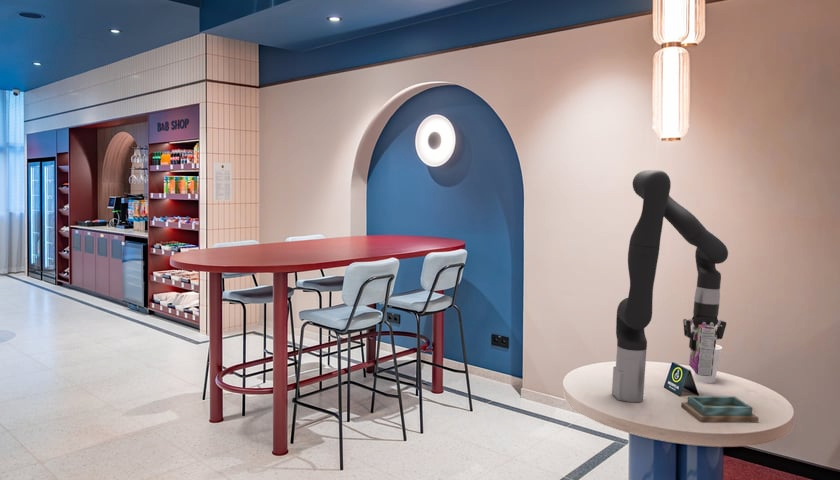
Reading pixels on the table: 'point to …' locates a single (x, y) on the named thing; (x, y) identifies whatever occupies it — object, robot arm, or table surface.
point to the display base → (719, 409)
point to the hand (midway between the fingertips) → (701, 350)
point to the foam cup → (715, 366)
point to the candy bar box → (703, 350)
